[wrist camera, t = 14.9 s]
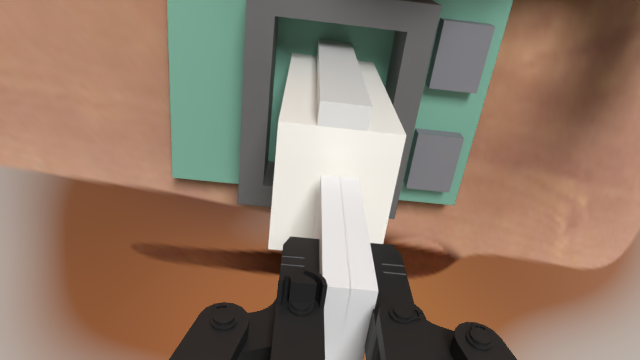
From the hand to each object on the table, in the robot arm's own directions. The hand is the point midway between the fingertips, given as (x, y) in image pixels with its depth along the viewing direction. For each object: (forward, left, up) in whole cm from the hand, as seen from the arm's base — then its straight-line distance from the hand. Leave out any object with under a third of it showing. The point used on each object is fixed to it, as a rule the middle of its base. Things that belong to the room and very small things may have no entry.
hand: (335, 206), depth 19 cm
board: (0, +1, -14) cm, 14 cm away
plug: (0, 0, -13) cm, 13 cm away
